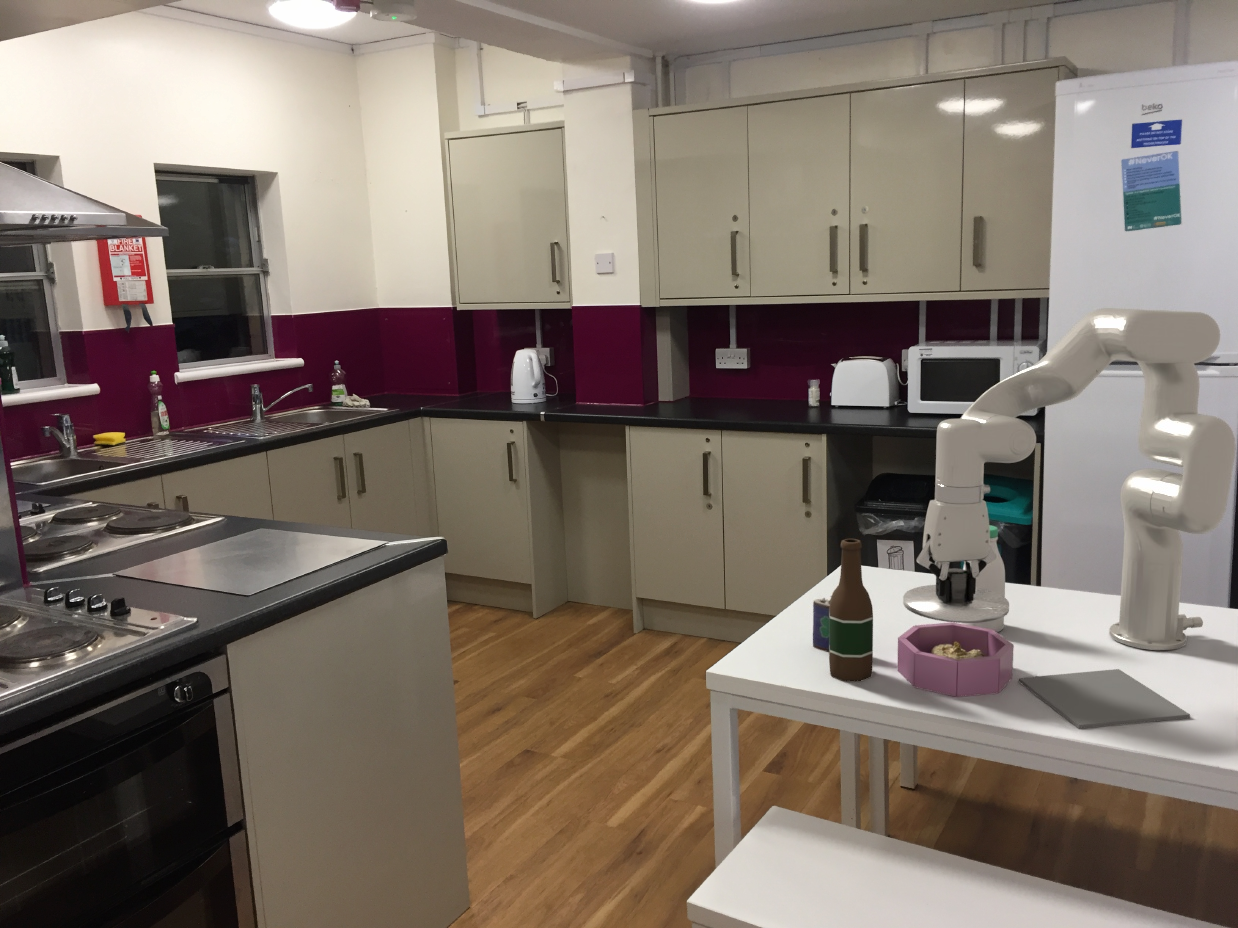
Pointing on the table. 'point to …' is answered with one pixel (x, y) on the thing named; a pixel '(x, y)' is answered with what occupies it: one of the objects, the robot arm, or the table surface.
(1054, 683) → the mat
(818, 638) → the flask
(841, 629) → the beer bottle
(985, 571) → the milk bottle
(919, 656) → the pink octagonal dish
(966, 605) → the lid
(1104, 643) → the table surface
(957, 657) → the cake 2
